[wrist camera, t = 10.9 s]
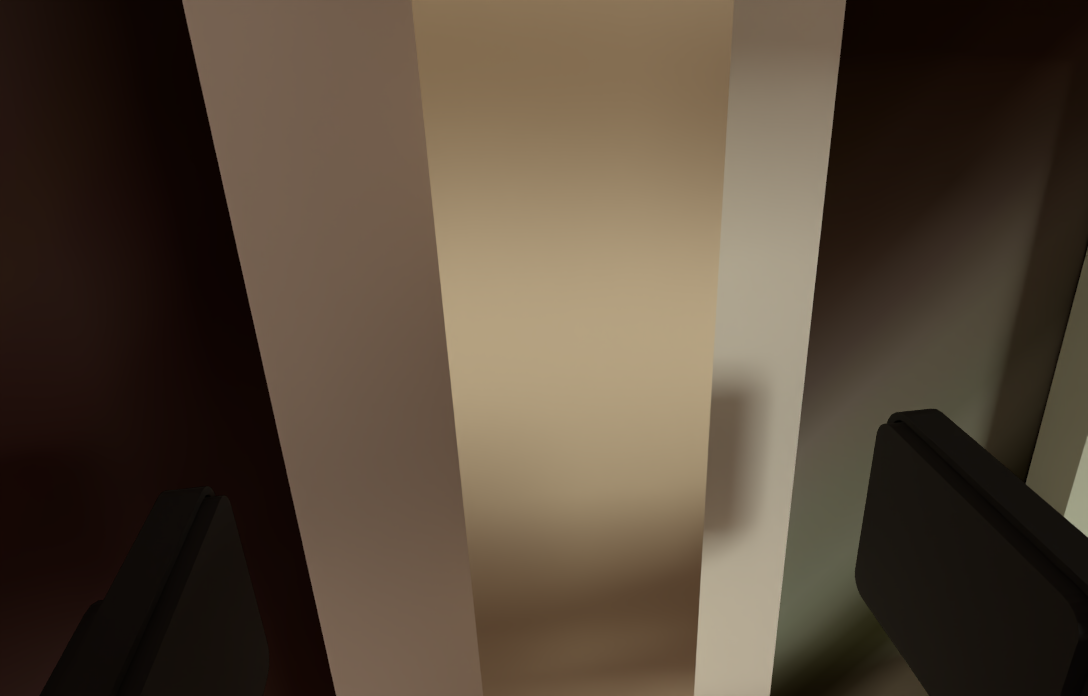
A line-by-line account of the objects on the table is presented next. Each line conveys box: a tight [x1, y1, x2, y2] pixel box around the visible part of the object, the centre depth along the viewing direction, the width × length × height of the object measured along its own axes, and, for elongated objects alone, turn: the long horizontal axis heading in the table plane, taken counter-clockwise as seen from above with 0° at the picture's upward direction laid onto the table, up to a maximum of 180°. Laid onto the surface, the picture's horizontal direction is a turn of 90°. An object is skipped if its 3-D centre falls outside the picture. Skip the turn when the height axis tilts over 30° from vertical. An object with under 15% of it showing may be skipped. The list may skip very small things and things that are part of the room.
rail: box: [411, 0, 734, 696], centre depth 11 cm, size 20×3×3 cm, turn 3°
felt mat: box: [182, 0, 846, 696], centre depth 13 cm, size 24×8×1 cm, turn 3°
